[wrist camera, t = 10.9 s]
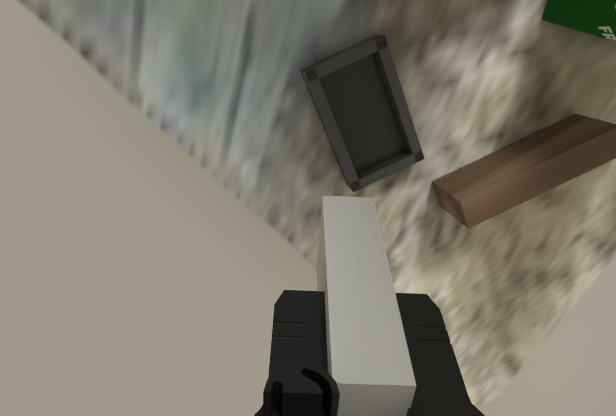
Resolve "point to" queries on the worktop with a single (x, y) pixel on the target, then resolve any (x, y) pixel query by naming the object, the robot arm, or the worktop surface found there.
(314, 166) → the worktop surface
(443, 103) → the worktop surface
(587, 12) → the soya milk
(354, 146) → the pit tray
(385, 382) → the robot arm
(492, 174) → the channel
